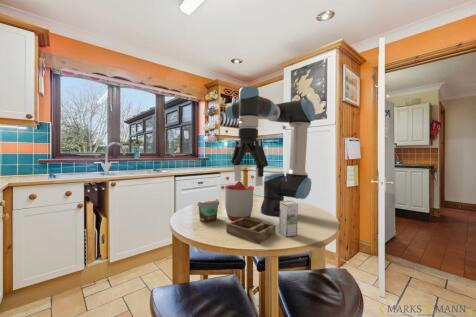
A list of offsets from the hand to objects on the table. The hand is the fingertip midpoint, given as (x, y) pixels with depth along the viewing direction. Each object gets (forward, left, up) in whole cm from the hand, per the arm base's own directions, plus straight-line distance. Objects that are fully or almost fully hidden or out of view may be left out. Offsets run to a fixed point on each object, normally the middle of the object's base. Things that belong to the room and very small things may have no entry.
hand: (247, 183), depth 85 cm
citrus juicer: (-24, -23, -24) cm, 41 cm away
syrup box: (-19, +8, -24) cm, 32 cm away
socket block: (-9, -5, -24) cm, 26 cm away
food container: (-10, -31, -24) cm, 40 cm away
